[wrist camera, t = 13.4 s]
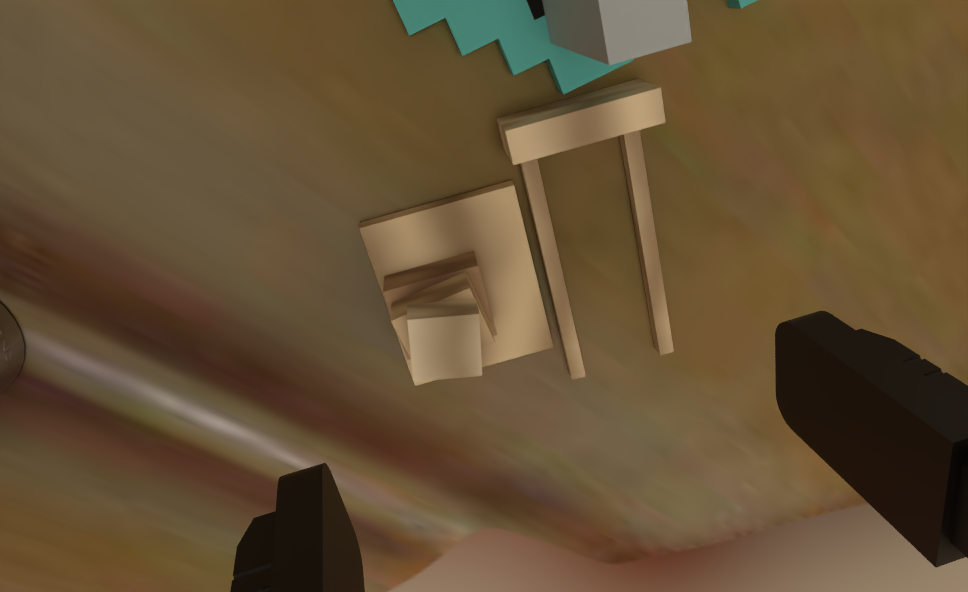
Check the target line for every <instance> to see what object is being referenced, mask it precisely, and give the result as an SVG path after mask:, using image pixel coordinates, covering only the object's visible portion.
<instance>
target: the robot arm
mask: <svg viewBox="0 0 968 592" xmlns="http://www.w3.org/2000/svg"><path fill="white" fill-rule="evenodd" d="M24 347H25V346H24V342H23V338H22V334H21V331H20V329H19V327H18V325H17V323H16V321H15V320H14V318H13V317H12V316H11V314H10V313H9V312H8V311H7V309H6V308H5V307H4V306H3V305H2V304H1V303H0V395H1V394H2V393H3V392H4V390H5V389H6V388H7V387H8V386H9V385H10V384H11V383H12V382H13V381H14V380H15V378H16V377H17V375H18V374H19V372H20V371H21V368H22V365H23V361H24ZM775 358H776V399H777V403H778V407H779V410H780V412H781V414H782V416H783V418H784V420H785V421H786V423H787V424H788V426H789V427H790V428H791V429H792V430H793V431H794V432H795V433H796V434H797V435H798V436H799V437H800V438H801V439H802V440H803V441H804V442H805V443H806V444H807V445H808V446H809V447H810V448H812V449H813V450H814V451H815V452H816V453H817V454H818V455H819V456H820V457H821V458H822V459H823V460H824V461H825V462H826V463H827V464H828V465H829V466H830V467H831V468H832V469H833V470H834V471H836V472H837V473H838V474H839V475H840V476H841V477H842V478H843V479H844V480H845V481H846V482H847V483H848V484H849V485H850V486H851V487H852V488H853V489H854V490H855V491H856V492H857V493H859V494H860V495H861V496H862V497H863V498H864V499H865V500H866V501H867V502H868V503H869V504H870V505H871V506H872V507H873V508H874V509H875V510H876V511H877V512H878V513H880V515H882V516H883V517H884V518H885V519H886V520H887V521H888V522H889V523H890V524H891V525H892V526H893V527H894V528H895V529H896V530H897V531H898V532H899V533H900V534H901V535H902V536H903V537H904V538H906V539H907V540H908V541H909V542H910V543H911V544H912V545H913V546H914V547H915V548H916V549H917V550H918V551H919V552H920V553H921V554H922V555H923V556H924V557H926V558H927V560H928V561H930V562H931V563H932V564H933V565H934V566H935V567H939V566H941V565H944V564H947V563H950V562H953V561H956V560H958V559H961V558H964V557H967V558H968V386H967V385H966V384H964V383H963V382H961V381H959V380H958V379H956V378H955V377H953V376H951V375H950V374H948V373H947V372H946V373H942V371H941V369H940V368H939V367H937V366H936V365H934V364H932V363H931V362H929V361H928V360H926V359H923V360H922V359H921V358H920V355H918V354H916V353H915V352H913V351H912V350H910V349H909V348H907V347H905V346H904V345H902V344H901V343H899V342H897V341H896V340H894V339H891V338H888V337H885V336H882V335H879V334H876V333H873V332H870V331H866V330H863V329H859V330H854V329H853V328H851V327H850V326H848V325H847V324H845V323H844V322H842V321H841V320H839V319H838V318H836V317H835V316H833V315H832V314H830V313H828V312H826V311H818V312H815V313H812V314H808V315H805V316H802V317H798V318H795V319H792V320H789V321H785V322H782V323H780V324H779V325H778V326H777V329H776V333H775ZM233 576H234V580H233V581H232V585H231V592H365V590H364V577H363V565H362V559H361V553H360V549H359V545H358V541H357V537H356V534H355V531H354V529H353V526H352V523H351V521H350V518H349V516H348V513H347V511H346V508H345V506H344V503H343V501H342V498H341V496H340V493H339V491H338V488H337V486H336V483H335V481H334V478H333V476H332V473H331V471H330V469H329V467H328V466H327V464H326V463H323V464H320V465H316V466H313V467H310V468H307V469H303V470H300V471H297V472H293V473H290V474H287V475H284V476H281V477H280V478H279V481H278V490H277V502H276V511H275V512H272V513H269V514H265V515H262V516H259V517H256V518H254V519H253V520H252V522H251V524H250V526H249V527H248V529H247V531H246V532H245V534H244V536H243V537H242V539H241V541H240V543H239V544H238V546H237V551H236V558H235V565H234V572H233Z"/></svg>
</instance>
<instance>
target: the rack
mask: <svg viewBox="0 0 968 592" xmlns="http://www.w3.org/2000/svg"><path fill="white" fill-rule="evenodd" d="M496 119H497V123H498V127H499V131H500V135H501V139H502V143H503V148H504V151H505V152H506V154H507V156H508V157H509V159H510V161H511V162H512V164H513V165H516V164H520V167H521V171H522V176H523V180H524V184H525V188H526V193H527V197H528V201H529V205H530V210H531V214H532V218H533V222H534V227H535V231H536V235H537V239H538V244H539V248H540V252H541V256H542V261H543V265H544V269H545V273H546V278H547V282H548V286H549V290H550V295H551V299H552V303H553V307H554V312H555V316H556V320H557V324H558V329H559V333H560V337H561V341H562V346H563V350H564V354H565V358H566V363H567V367H568V371H569V373H570V376H571V378H572V380H573V379H577V378H581V377H584V376H586V375H585V371H584V366H583V362H582V357H581V353H580V348H579V344H578V339H577V335H576V330H575V326H574V321H573V317H572V312H571V308H570V303H569V299H568V295H567V290H566V286H565V281H564V277H563V272H562V268H561V263H560V259H559V254H558V250H557V245H556V241H555V236H554V232H553V227H552V223H551V218H550V214H549V209H548V205H547V200H546V196H545V192H544V187H543V183H542V178H541V174H540V169H539V165H538V160H537V158H541V157H545V156H548V155H552V154H555V153H559V152H562V151H566V150H570V149H573V148H577V147H580V146H584V145H587V144H591V143H595V142H598V141H602V140H605V139H609V138H612V137H616V136H619V138H620V144H621V150H622V156H623V162H624V168H625V174H626V180H627V186H628V192H629V198H630V204H631V210H632V216H633V222H634V227H635V233H636V239H637V245H638V251H639V257H640V263H641V269H642V275H643V281H644V287H645V293H646V299H647V305H648V311H649V317H650V323H651V329H652V335H653V341H654V347H655V349H656V350H657V352H658V353H659V354H660V355H664V354H667V353H671V352H674V350H673V344H672V337H671V331H670V324H669V318H668V311H667V305H666V298H665V292H664V285H663V279H662V272H661V266H660V259H659V253H658V246H657V240H656V233H655V227H654V220H653V214H652V207H651V201H650V194H649V188H648V181H647V175H646V168H645V162H644V155H643V149H642V142H641V136H640V130H641V129H645V128H648V127H652V126H655V125H659V124H662V123H666V122H665V115H664V108H663V100H662V93H661V87H658V86H656V85H653V84H651V83H648V82H646V81H643V80H641V79H635V80H631V81H628V82H624V83H621V84H617V85H614V86H610V87H606V88H603V89H599V90H596V91H592V92H589V93H585V94H582V95H578V96H574V97H571V98H567V99H564V100H560V101H557V102H553V103H550V104H546V105H542V106H539V107H535V108H532V109H528V110H525V111H521V112H517V113H514V114H510V115H507V116H503V117H500V118H496ZM359 229H360V232H361V235H362V238H363V241H364V244H365V246H366V249H367V252H368V255H369V258H370V260H371V263H372V266H373V269H374V272H375V275H376V277H377V280H378V283H379V286H380V289H381V291H382V294H383V297H384V300H385V303H386V305H387V308H388V311H389V314H390V317H391V312H390V310H389V307H388V304H387V301H386V298H385V295H384V293H383V288H384V276H386V275H390V274H393V273H397V272H401V271H404V270H408V269H411V268H415V267H418V266H422V265H426V264H429V263H433V262H436V261H440V260H444V259H447V258H451V257H454V256H458V255H461V254H465V253H469V252H472V251H474V252H475V256H476V260H477V263H478V267H479V270H480V274H481V277H482V281H483V284H484V288H485V292H486V295H487V299H488V302H489V306H490V309H491V313H492V316H493V320H494V324H495V328H496V331H497V335H495V336H494V340H495V343H494V344H492V345H489V346H487V347H484V348H482V349H481V359H482V367H485V366H488V365H492V364H495V363H499V362H503V361H506V360H510V359H513V358H517V357H521V356H524V355H528V354H531V353H535V352H539V351H542V350H546V349H549V348H553V343H552V339H551V335H550V331H549V327H548V323H547V318H546V314H545V310H544V306H543V302H542V298H541V294H540V290H539V285H538V281H537V277H536V273H535V269H534V265H533V261H532V257H531V252H530V248H529V244H528V240H527V236H526V232H525V228H524V224H523V219H522V215H521V211H520V207H519V203H518V199H517V195H516V191H515V186H514V184H513V182H512V180H510V181H506V182H503V183H499V184H496V185H492V186H489V187H485V188H481V189H478V190H474V191H471V192H467V193H464V194H460V195H456V196H453V197H449V198H446V199H442V200H439V201H435V202H431V203H428V204H424V205H421V206H417V207H414V208H410V209H406V210H403V211H399V212H396V213H392V214H389V215H385V216H381V217H378V218H374V219H371V220H367V221H364V222H360V227H359ZM395 331H396V330H395ZM396 334H397V332H396ZM397 336H398V334H397ZM398 339H399V342H400V345H401V348H402V351H403V353H404V356H405V359H406V362H407V365H408V367H409V370H410V373H411V376H412V379H413V374H412V363H411V359H409V360H407V358H406V355H405V352H404V349H403V346H402V343H401V341H400V338H399V336H398ZM430 381H434V380H429V381H418V382H414V384H415V386H416V385H420V384H423V383H427V382H430Z"/></svg>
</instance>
